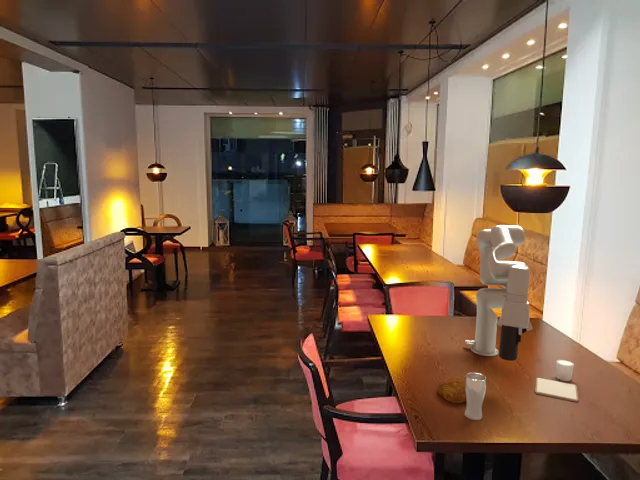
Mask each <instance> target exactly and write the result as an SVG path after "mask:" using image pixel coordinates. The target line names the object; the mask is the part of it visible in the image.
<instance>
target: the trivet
mask: <svg viewBox="0 0 640 480" xmlns="http://www.w3.org/2000/svg"><path fill="white" fill-rule="evenodd" d="M534 389H535V390H534V393H535V394H536V395H540V396H544V397H549V398H555V399H559V400H564V401H568V402H574V403H579V393H578V386H577V385H576V384H574V383H569V382H565V381H557V380H552V379H548V378H542V377H537V376H536V378H535V388H534Z"/></svg>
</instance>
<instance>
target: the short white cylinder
mask: <svg viewBox="0 0 640 480" xmlns="http://www.w3.org/2000/svg"><path fill="white" fill-rule="evenodd" d="M555 368H556V369H555V374H556V375H555V376H556V378H557V380H559V379H560V381H562V382H570V381H572V376H573V372H574V368H575V364H574V362H572V361H570V360H567V359H566V360H565V359H557V360H556V361H555Z"/></svg>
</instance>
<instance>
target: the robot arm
mask: <svg viewBox="0 0 640 480" xmlns="http://www.w3.org/2000/svg"><path fill="white" fill-rule="evenodd" d="M525 241H526V233H525V229H524V228H523V227H522V226H520V225H515V224H514V225H511V224H509V225H508V224H506V225H505V224H499V225H495V226H493V227H492V228H487V229H481V230H479V231H478V232H477V234H476V243H477V248H478V251H479V256H480V258H479V259H480V266H479V280H480V283H481V284H483V285H486V286H498V287H499V286H501V287H503V288H495V287H494V288H493V287H483V288H480V289H478V290H477V291H476V294H475V301H476V318H475V319H476V320H475V321H476V322H475V336H474V340H469V339H465V345H466V346H470V351H471V352H472V353H474V354H476V355H477V356H484V357H495V356H498V355H499V350H498V348H496V346H497V345H496V342H497V332H498V331H497V329H498V326H499V327H500V328H501V327H502V325H504V326H512V327H516V328H519V332H518V335H517V342H516V344H517V345H518V346H519V343H521V340H522V335H523V334H525V333H526V332H527V331H529V332H530V331H532V330H533V326H532V323H531V321H530V311H531V310H530V302H529V301H528V297H529V283H530V275H531V273H530V271H531V270H530V268H529V267H528V265H527V264H526V262H523V261H513V260H506V259H509V258H510V257H512V256H514V255H515V253H516V250H517V247H519V246H521V245H523V244H524V243H525ZM493 309H498V310H499V309H500V310H501V312H500V313H501V314H500V317H499V319H498V316H497V314H496V312H495V311H494V310H493Z"/></svg>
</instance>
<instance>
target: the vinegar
mask: <svg viewBox="0 0 640 480" xmlns="http://www.w3.org/2000/svg"><path fill="white" fill-rule="evenodd" d="M518 332H519V328H516V327H512V326H504V325H502V327H500V336H499V348H498V349H499V350H498V357H499V358H500V359H502V360H504V361H509V362H514V361H517V359H518V353H519V344H518V345H517V344H516V342H517V335H518Z"/></svg>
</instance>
